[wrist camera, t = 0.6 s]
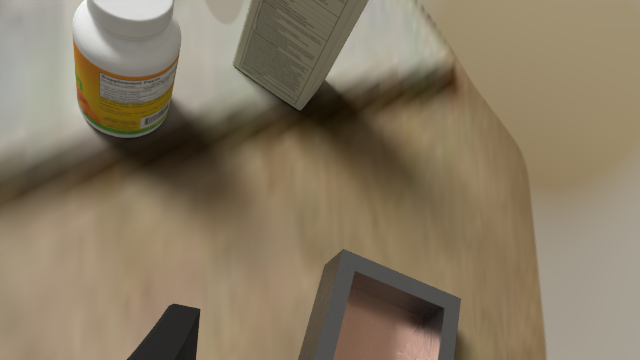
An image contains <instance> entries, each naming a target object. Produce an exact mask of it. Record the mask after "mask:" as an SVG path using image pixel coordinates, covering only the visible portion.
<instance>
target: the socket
mask: <svg viewBox="0 0 640 360" xmlns="http://www.w3.org/2000/svg"><path fill="white" fill-rule="evenodd" d="M460 302H461V299H460V298H458V297H456V296H453V295H451V294H449V293H446V292H444V291H441V290H439V289H437V288H434V287H432V286H430V285H427V284H425V283H423V282H420V281H418V280H415V279H413V278H411V277H408V276H406V275H404V274H401V273H399V272H396V271H394V270H392V269H389V268H387V267H385V266H382V265H380V264H378V263H375V262H373V261H370V260H368V259H366V258H363V257H361V256H359V255H356V254H354V253H352V252H349V251H347V250H344V249H343V250H342V251H341V252H339V253H338V254H337V255H336V256H335V257H334V258H332V259H331V260H330V261H329V262H328V263H327V264H326V265H325V267H324V270H323V274H322V277H321V281H320V284H319V288H318V292H317V295H316V299H315V302H314V306H313V309H312V313H311V316H310V320H309V324H308V327H307V331H306V334H305V338H304V341H303V345H302V348H301V352H300V356H299V359H298V360H454V355H455V346H456V337H457V328H458V320H459V311H460Z"/></svg>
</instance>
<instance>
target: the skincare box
mask: <svg viewBox="0 0 640 360" xmlns="http://www.w3.org/2000/svg"><path fill="white" fill-rule="evenodd" d="M367 2H368V0H251V1H250V5H249V8H248V12H247V15H246V19H245V22H244V25H243V29H242V32H241V36H240V39H239V43H238V46H237V50H236V53H235V57H234V60H233V65H234V66H235V67H236V68H238V69H239V70H241V71H242V72H243V73H245V74H246V75H248V76H249V77H250V78H252V79H253V80H255V81H256V82H257V83H259V84H260V85H262V86H263V87H265V88H266V89H268V90H269V91H271V92H272V93H273V94H275V95H276V96H278V97H279V98H281V99H282V100H284V101H285V102H287V103H288V104H290V105H291V106H293V107H294V108H296V109H297V110H302V109H303V107H304V106H305V105H306V104H307V102H308V101H309V100H310V99H311V97H312V96H313V95H314V94H315V92H316V91H317V90H318V88H319V87H320V86H321V84H322V83H323V81H324V80H325V78H326V77H327V75H328V73H329V71H330V69H331V68H332V66H333V64H334V62H335V60H336V58H337V57H338V55H339V53H340V51H341V49H342V48H343V46H344V44H345V42H346V40H347V39H348V37H349V35H350V33H351V31H352V29H353V28H354V26H355V24H356V22H357V20H358V19H359V17H360V15H361V13H362V11H363V10H364V8H365V6H366V4H367Z"/></svg>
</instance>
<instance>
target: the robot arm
mask: <svg viewBox="0 0 640 360" xmlns="http://www.w3.org/2000/svg"><path fill="white" fill-rule="evenodd" d="M199 318H200V309H198V308H193V307H188V306H183V305H178V304H172V305H170V306H168V308H167V309H166V311H165V312H164V314H163V315H162V316H161V318H160V319H159V321H158V322H157V323H156V325H155V326H154V327H153V329H152V330H151V331H150V332H149V334H148V335H147V336H146V337H145V339H144V340H143V341H142V342H141V344H140V345H139V346H138V347H137V348H136V350H135V351H134V352H133V353H132V354H131V356H130V357H129V358H128V359H127V360H196V352H197V341H198V329H199Z"/></svg>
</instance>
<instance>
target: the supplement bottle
mask: <svg viewBox="0 0 640 360" xmlns="http://www.w3.org/2000/svg"><path fill="white" fill-rule="evenodd" d="M173 6H174V0H84V1H83V2H82V3H81V4H80V5H79V7H78V9H77V10H76V12H75V15H74V19H73V44H74V59H75V74H76V86H77V99H78V105H79V108H80V111H81V113H82V115H83V116H84V118H85V119H86V120H87V121H88V122H89V123H90V124H91V125H92V126H93V127H94V128H96V129H97V130H99V131H101V132H103V133H105V134H108V135H111V136H115V137H121V138H133V137H139V136H142V135H146V134H148V133H150V132H152V131H154V130H155V129H156V128H158V127H159V126H160V125H161V124H162V123H163V121H164V120H165V118H166V116H167V113H168V110H169V106H170V101H171V96H172V90H173V85H174V79H175V74H176V69H177V63H178V58H179V52H180V46H181V31H180V27H179V24H178V22H177V20H176V18H175V16H174V14H173Z"/></svg>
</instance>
